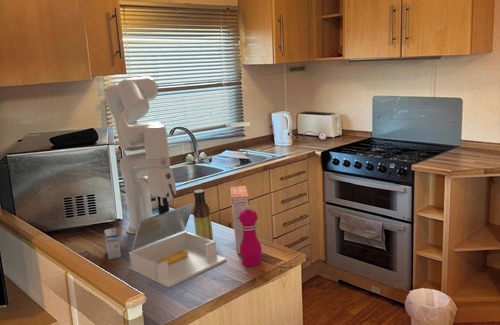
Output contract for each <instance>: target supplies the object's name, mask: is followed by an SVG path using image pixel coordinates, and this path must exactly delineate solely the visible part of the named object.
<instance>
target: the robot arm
mask: <svg viewBox="0 0 500 325" xmlns="http://www.w3.org/2000/svg"><path fill="white" fill-rule="evenodd" d="M158 92H159V89H158V84H157V82H156V80H155V79H154V78H153V77H151V76H141V77H140V76H139V77H129V78H123V79H122V80H120V81H119V82H117V83H114V84H113V83H112V84H110V85H108V86H106V88H105V90H104V99H105V102H106V103H105V104H106V105H107V107H108V109H109V111H110V113H111V114H112V117H113V120H114V123H115V130H116V134H117V139H118V144H119V147H120V149H121V150H122V151H123V152H136V151H141V150H142V151H143V150H144V151H145V152H138V153H134V154H133V153H132V154H128V155H125V156H123V157H122V158H121V159H120V160H119V170H120V173H121V176H122V179H123V184H124V191H125V197H126V206H127V212H128V213H127V214H128V218H127V219H126V220H127V222H129V225H128V226H127V227H126V232H127V233H128V234H131V235H136V232H137V228H138V225H139V221H141V220H144V219H147V218H150V217H153V216H154V215H153V209H152V207H151V199H150V194H152V196H153V197H154V198H155V199H156V203H157V205H158V207H157V209H158V211H157V212H158V215H159V214H162V213H165V212H168V211H170V208H169V204H170V203H169V202H172V201H174V197H173V196H176V195H177V187H176V181H175V176H174V175H175V174H174V171H173V168H172V166H171V161H170V159H171V158H170V152H169V143H168V134H167V132H168V131H167V128H166V126H165V125H163V123H161V122H160V121H152V122H151V121H150V122H143V123H138V120H140V119H142V118H143V117H145V116H146V115H147V114H148V112H149V110H150V103H149V102H152V101H153V100H154V99H156V98H157V96H158ZM145 176H147V178H148V184H147V183H146V182H145V181H143V180H142V179H141V178H142V177H145Z"/></svg>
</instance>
